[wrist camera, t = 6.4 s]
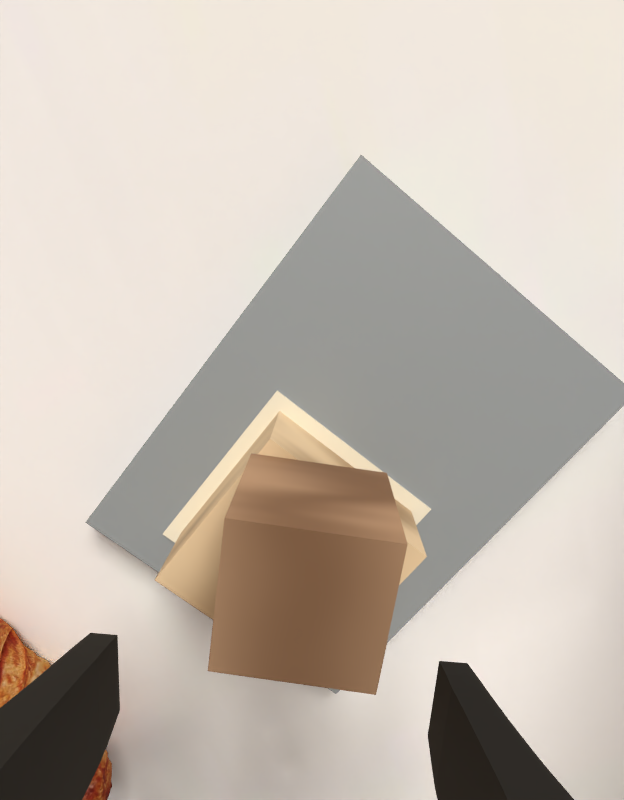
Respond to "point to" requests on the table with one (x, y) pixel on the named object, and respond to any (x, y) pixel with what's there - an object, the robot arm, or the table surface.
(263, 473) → the walnut block
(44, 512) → the table surface
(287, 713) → the table surface
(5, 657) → the croissant
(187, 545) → the oak base
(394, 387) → the build board
